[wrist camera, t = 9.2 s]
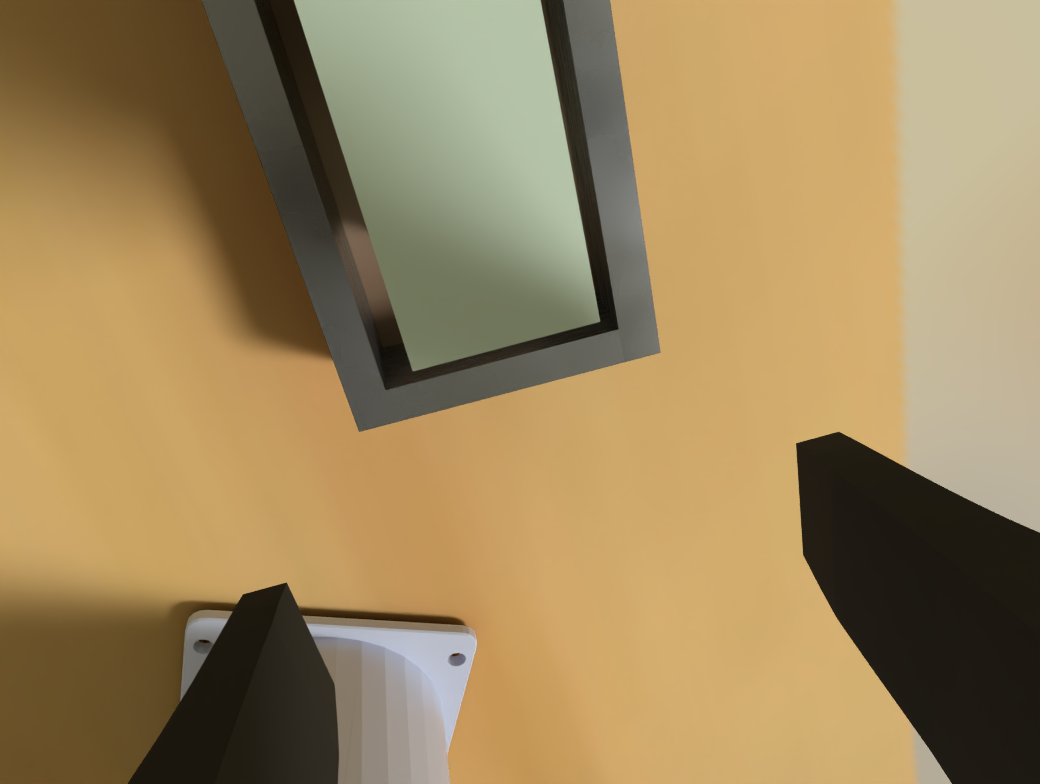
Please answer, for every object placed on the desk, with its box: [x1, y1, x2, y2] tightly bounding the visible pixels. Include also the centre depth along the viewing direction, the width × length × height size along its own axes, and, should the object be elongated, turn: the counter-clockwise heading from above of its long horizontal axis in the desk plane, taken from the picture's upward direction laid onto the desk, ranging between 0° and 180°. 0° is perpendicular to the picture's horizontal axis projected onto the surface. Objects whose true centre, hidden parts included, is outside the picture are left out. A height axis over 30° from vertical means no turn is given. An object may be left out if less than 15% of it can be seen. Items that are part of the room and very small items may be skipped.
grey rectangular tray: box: [202, 0, 660, 432], centre depth 16 cm, size 14×7×3 cm, turn 12°
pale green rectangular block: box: [294, 0, 600, 371], centre depth 14 cm, size 8×3×6 cm, turn 13°
